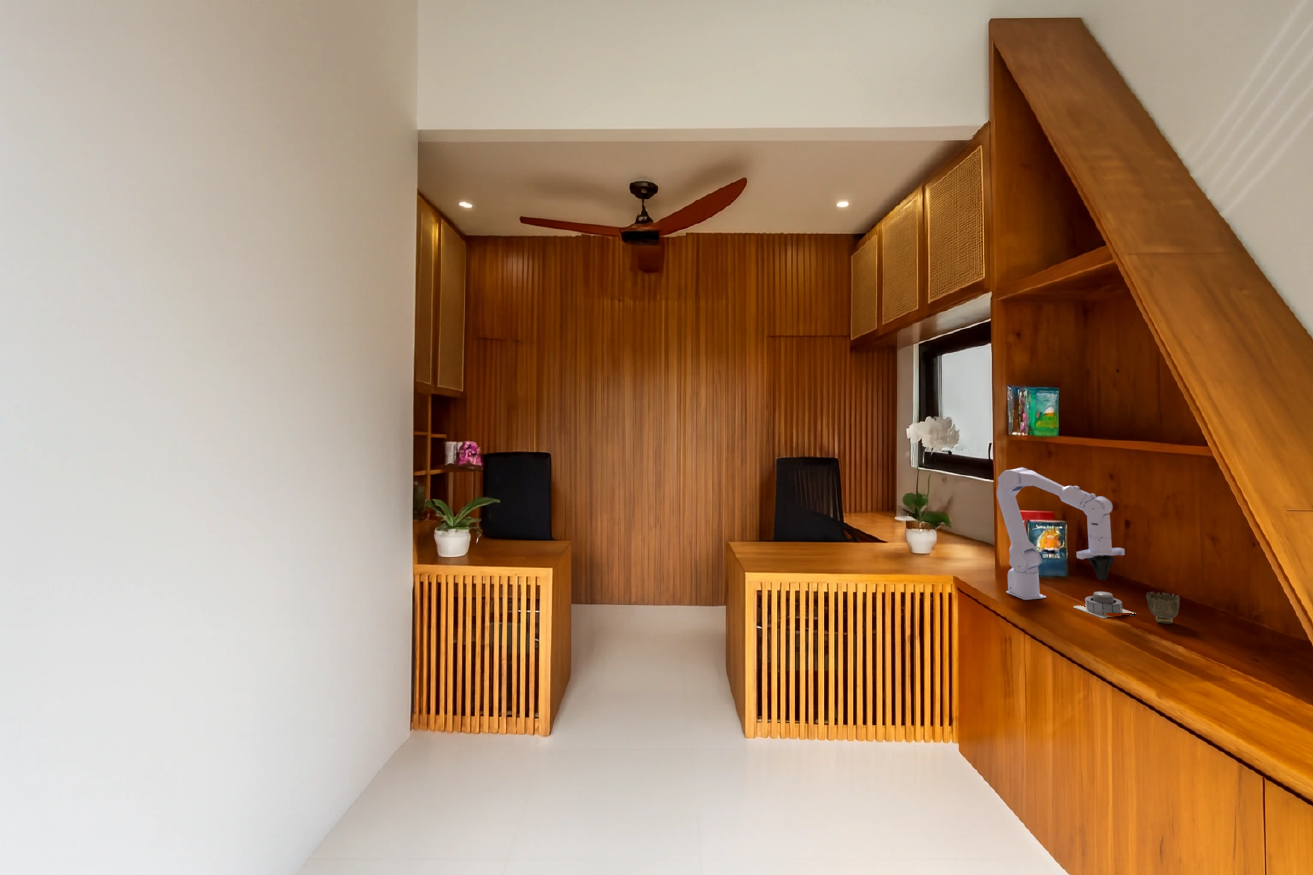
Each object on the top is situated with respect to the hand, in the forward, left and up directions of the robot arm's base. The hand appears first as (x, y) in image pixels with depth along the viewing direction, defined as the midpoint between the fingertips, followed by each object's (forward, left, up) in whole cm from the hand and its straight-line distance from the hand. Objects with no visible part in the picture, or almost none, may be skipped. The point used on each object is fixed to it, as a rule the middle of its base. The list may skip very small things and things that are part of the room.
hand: (1101, 579), depth 182 cm
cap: (0, 0, -10) cm, 10 cm away
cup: (+13, +7, -10) cm, 18 cm away
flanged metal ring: (0, 0, -10) cm, 10 cm away
